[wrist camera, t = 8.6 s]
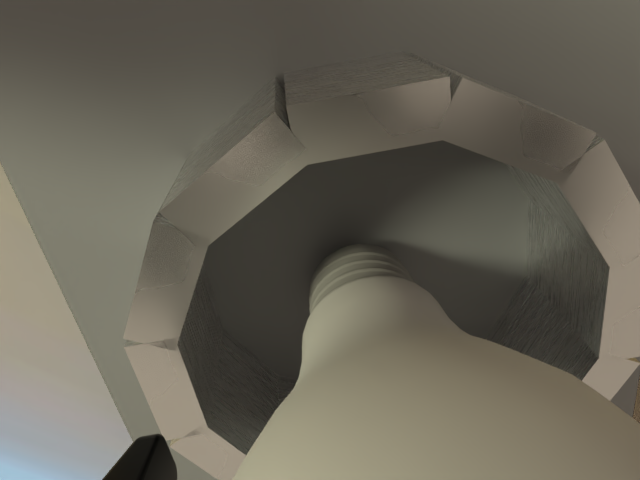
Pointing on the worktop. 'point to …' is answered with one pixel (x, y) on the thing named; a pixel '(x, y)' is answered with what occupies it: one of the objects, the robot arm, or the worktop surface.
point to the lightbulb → (427, 395)
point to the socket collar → (358, 139)
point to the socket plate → (310, 182)
